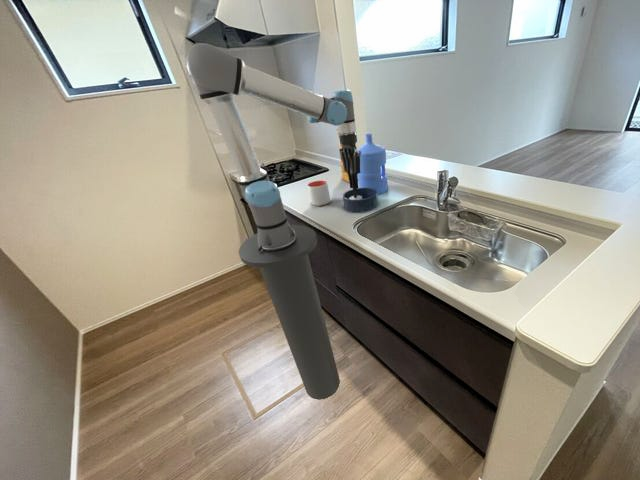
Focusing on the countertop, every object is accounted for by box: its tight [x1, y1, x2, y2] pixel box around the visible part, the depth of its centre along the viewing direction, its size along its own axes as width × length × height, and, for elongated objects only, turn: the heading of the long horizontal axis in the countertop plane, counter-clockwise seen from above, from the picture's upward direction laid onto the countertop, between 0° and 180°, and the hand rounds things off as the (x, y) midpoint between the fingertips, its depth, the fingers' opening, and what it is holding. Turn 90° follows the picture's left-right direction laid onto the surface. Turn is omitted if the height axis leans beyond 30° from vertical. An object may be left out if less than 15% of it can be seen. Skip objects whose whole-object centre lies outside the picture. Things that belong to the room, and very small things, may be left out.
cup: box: [306, 180, 331, 207], centre depth 150 cm, size 10×10×10 cm
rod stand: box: [349, 165, 362, 200], centre depth 138 cm, size 6×6×17 cm
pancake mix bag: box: [336, 127, 357, 183], centre depth 172 cm, size 7×19×28 cm, turn 30°
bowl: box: [342, 187, 379, 213], centre depth 143 cm, size 17×17×6 cm
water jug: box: [357, 133, 389, 196], centre depth 152 cm, size 16×16×28 cm
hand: (354, 187), depth 139 cm, fingers closed on rod stand, 2 cm apart
